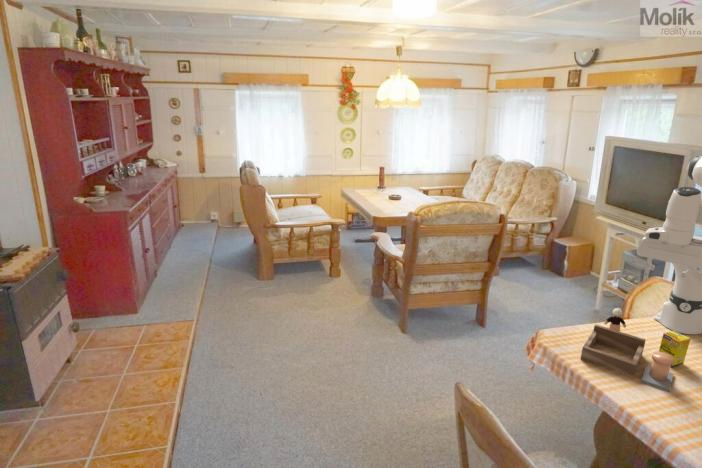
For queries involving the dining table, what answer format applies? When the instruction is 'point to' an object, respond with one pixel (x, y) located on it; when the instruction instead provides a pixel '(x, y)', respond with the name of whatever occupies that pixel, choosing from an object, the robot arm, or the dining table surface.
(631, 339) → the frame
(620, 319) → the grandmother figurine
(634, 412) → the dining table surface
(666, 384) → the slate mat
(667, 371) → the peach drawer knob
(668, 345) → the supplement box
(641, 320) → the dining table surface
